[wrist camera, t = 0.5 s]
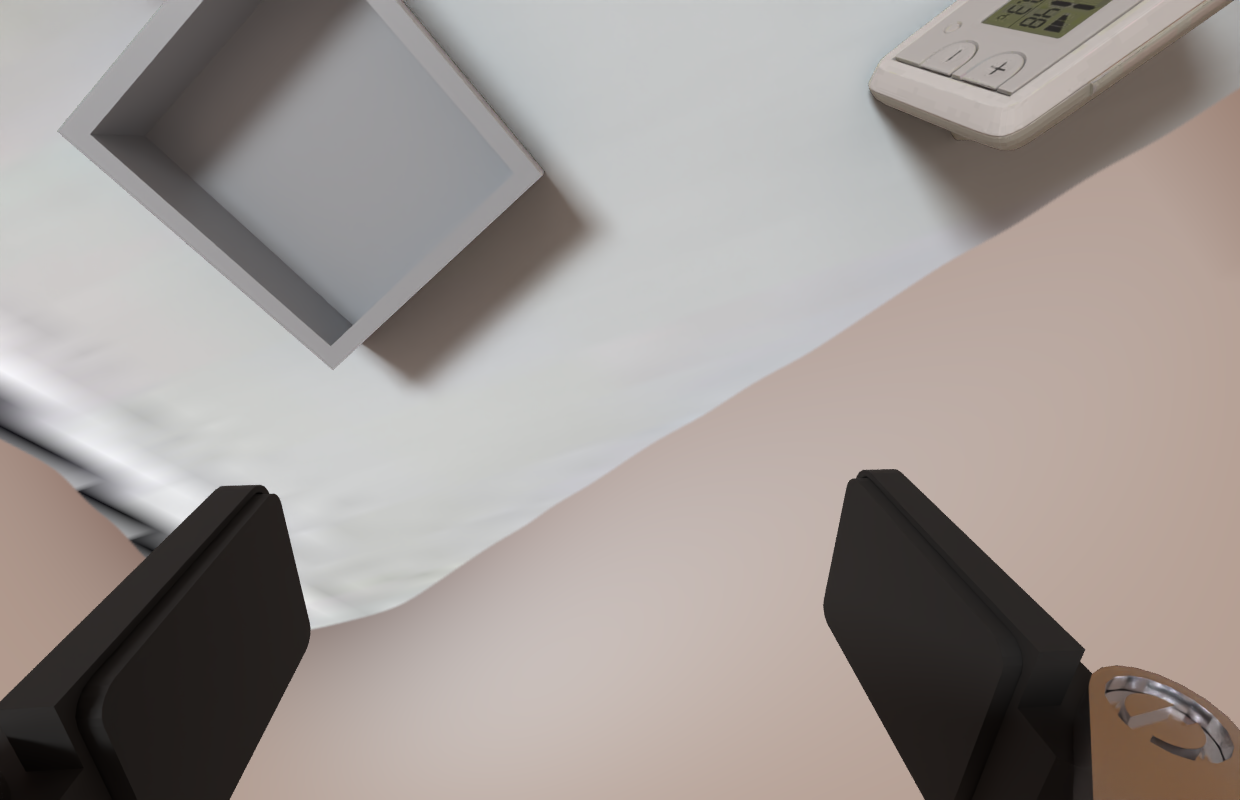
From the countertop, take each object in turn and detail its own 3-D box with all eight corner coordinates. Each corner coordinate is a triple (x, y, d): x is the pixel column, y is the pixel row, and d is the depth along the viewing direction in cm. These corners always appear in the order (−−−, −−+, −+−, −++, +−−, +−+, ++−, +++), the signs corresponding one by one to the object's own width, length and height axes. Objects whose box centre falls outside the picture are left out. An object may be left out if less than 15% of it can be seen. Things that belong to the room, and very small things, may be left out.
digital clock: (1126, -123, 32) (1375, -243, 22) (1138, 53, 35) (1358, 17, 26) (843, 20, 33) (959, -33, 23) (882, 175, 37) (997, 185, 27)
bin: (324, -94, 29) (280, -138, 25) (544, 171, 35) (542, 175, 30) (128, 133, 32) (56, 130, 28) (360, 343, 38) (333, 370, 33)
